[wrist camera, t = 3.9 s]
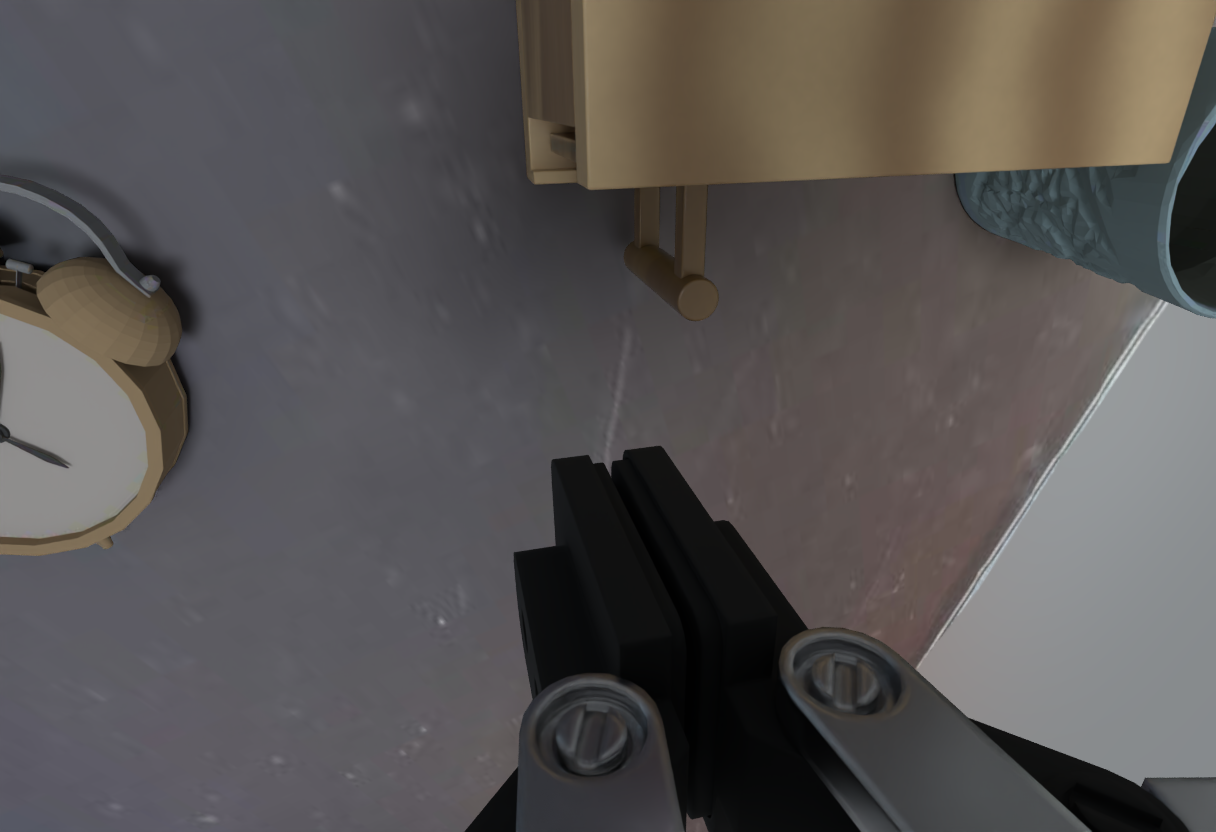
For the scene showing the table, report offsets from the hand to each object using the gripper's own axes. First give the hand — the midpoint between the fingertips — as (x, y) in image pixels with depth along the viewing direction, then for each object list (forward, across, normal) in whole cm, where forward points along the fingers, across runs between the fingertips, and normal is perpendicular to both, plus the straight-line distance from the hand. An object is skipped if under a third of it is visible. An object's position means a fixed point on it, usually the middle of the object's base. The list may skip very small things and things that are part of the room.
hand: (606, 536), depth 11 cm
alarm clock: (+22, +18, +3) cm, 29 cm away
